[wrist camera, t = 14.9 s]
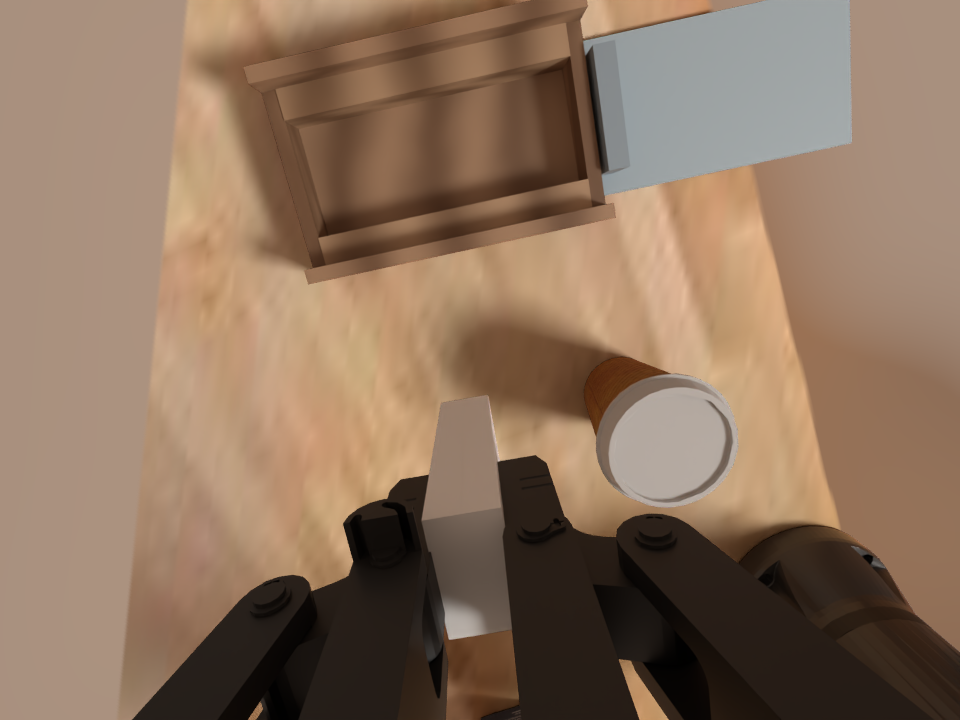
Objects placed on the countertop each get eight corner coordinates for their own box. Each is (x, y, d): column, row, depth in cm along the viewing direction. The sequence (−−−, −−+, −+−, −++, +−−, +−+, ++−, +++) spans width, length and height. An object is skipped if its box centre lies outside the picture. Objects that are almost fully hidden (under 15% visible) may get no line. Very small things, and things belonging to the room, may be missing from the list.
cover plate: (837, -11, 37) (895, -49, 32) (840, 145, 39) (894, 132, 34) (573, 48, 37) (589, 19, 32) (594, 198, 40) (612, 192, 35)
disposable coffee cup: (693, 390, 44) (774, 448, 32) (613, 460, 46) (663, 539, 34) (625, 316, 42) (684, 349, 31) (543, 391, 44) (571, 450, 32)
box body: (566, 26, 36) (585, -13, 31) (594, 219, 40) (615, 217, 34) (278, 92, 37) (243, 66, 31) (331, 276, 41) (308, 284, 35)
